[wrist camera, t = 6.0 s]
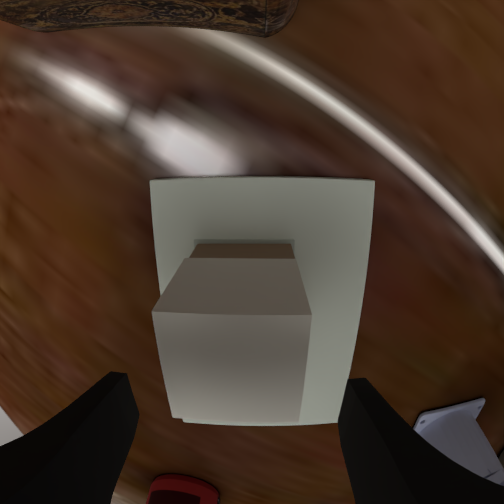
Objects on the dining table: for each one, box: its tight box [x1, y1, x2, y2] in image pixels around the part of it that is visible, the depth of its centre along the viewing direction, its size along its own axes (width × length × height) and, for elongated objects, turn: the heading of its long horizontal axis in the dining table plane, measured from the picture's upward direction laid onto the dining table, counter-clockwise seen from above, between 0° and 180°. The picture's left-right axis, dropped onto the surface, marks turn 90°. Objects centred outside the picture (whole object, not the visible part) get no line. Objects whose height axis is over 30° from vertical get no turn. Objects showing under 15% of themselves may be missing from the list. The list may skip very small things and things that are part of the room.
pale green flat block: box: [150, 176, 375, 426], centre depth 18 cm, size 18×12×4 cm, turn 0°
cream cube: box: [152, 258, 312, 423], centre depth 13 cm, size 5×5×5 cm
